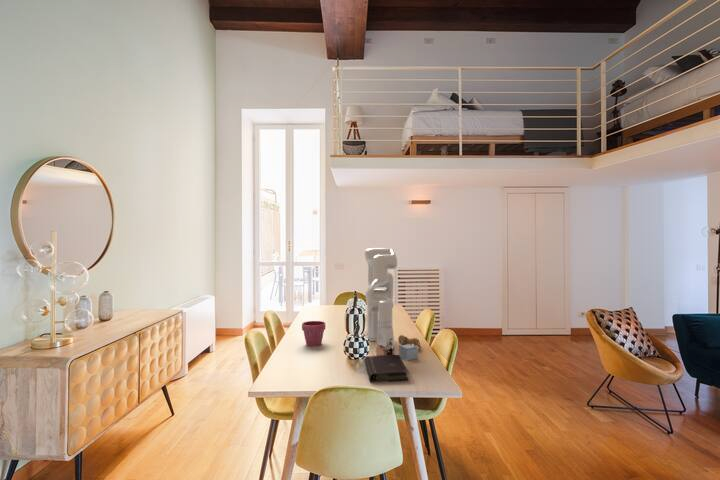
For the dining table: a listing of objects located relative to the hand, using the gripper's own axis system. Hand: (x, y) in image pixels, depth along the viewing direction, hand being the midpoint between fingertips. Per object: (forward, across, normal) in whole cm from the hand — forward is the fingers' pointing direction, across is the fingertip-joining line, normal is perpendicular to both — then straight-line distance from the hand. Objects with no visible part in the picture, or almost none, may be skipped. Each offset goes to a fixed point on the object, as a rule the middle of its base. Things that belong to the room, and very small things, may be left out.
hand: (385, 357), depth 205 cm
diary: (+2, +16, -11) cm, 20 cm away
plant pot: (+1, -47, -20) cm, 51 cm away
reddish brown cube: (+1, 0, 0) cm, 1 cm away
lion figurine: (+1, -6, +21) cm, 22 cm away
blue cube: (+1, +4, +12) cm, 13 cm away
